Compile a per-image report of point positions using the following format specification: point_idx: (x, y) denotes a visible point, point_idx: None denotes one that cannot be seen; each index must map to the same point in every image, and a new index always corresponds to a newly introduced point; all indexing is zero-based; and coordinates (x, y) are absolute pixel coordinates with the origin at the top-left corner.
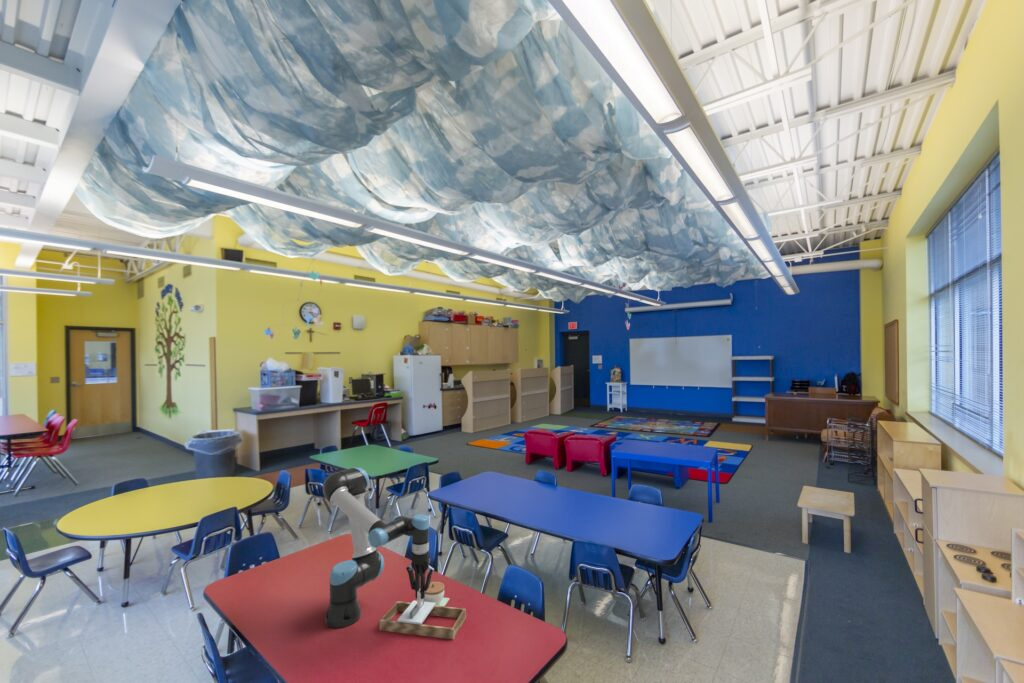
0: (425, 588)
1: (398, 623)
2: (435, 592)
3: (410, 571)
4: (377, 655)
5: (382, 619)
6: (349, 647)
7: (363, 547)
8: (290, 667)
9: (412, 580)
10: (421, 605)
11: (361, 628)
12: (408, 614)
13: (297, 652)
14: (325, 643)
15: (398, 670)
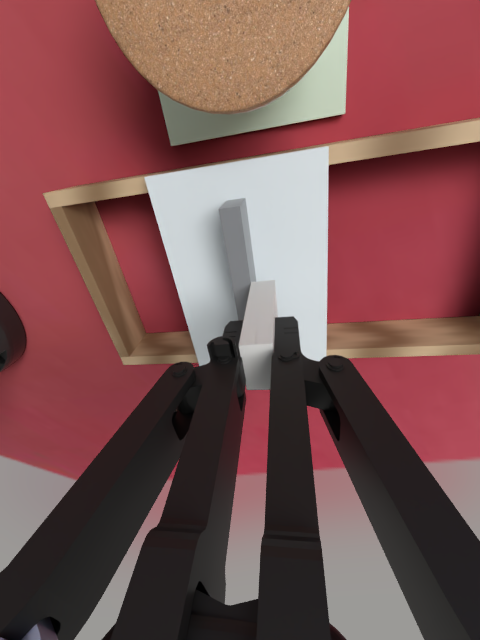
0: (336, 419)
1: None
2: (306, 69)
3: (73, 628)
4: None
5: (127, 356)
6: None
7: None
8: (82, 473)
9: (164, 479)
10: (276, 301)
11: (76, 346)
12: (222, 326)
13: (42, 444)
14: (60, 415)
15: (325, 460)
